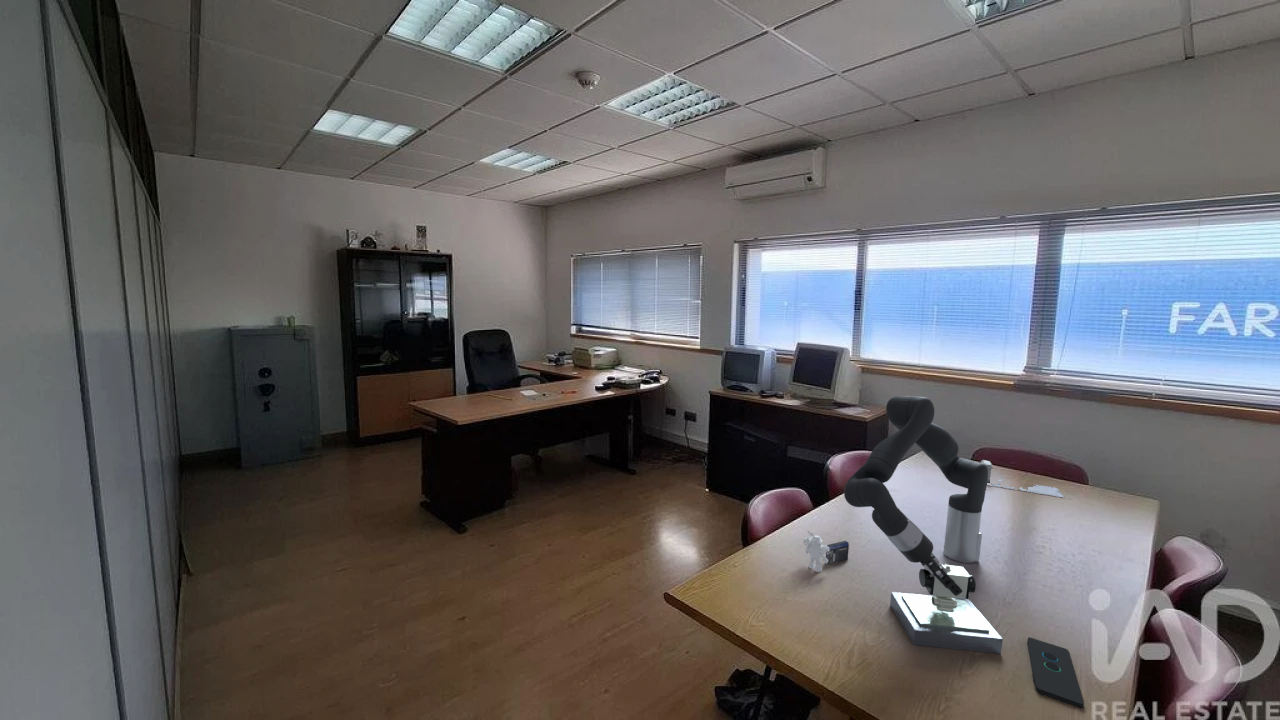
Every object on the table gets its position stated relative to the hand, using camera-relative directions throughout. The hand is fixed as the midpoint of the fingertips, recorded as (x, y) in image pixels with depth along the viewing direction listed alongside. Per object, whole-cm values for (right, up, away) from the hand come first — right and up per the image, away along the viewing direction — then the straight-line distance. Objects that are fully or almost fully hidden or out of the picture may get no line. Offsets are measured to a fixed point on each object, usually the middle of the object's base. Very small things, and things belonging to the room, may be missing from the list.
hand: (952, 586), depth 127 cm
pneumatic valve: (-2, -6, +1) cm, 7 cm away
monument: (+93, -1, +102) cm, 138 cm away
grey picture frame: (-2, -12, +2) cm, 12 cm away
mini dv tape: (-17, -8, +34) cm, 38 cm away
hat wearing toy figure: (-25, -8, +29) cm, 39 cm away
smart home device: (+15, -15, -13) cm, 25 cm away
